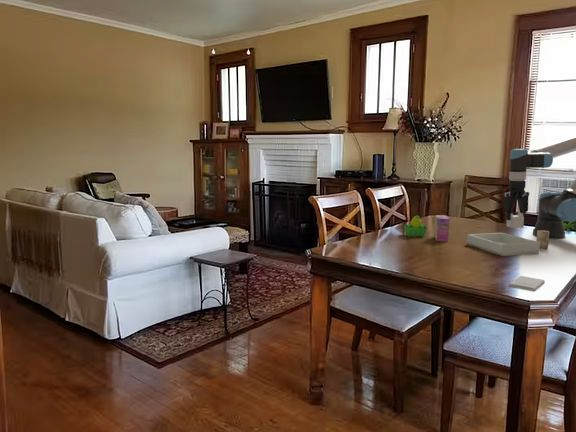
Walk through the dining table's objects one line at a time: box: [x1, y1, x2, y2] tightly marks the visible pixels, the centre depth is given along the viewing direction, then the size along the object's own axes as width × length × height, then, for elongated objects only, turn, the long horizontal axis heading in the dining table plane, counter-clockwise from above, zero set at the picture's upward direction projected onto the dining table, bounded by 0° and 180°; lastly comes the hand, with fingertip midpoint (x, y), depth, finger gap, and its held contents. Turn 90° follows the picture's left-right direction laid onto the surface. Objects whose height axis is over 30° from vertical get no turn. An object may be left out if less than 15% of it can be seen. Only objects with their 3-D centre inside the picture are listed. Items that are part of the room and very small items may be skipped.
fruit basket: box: [403, 215, 428, 238], centre depth 245 cm, size 11×9×11 cm
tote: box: [466, 232, 540, 257], centre depth 215 cm, size 20×24×5 cm
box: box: [434, 214, 450, 243], centre depth 236 cm, size 10×6×12 cm, turn 168°
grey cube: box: [505, 214, 525, 229], centre depth 233 cm, size 6×6×6 cm
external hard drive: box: [508, 275, 545, 292], centre depth 161 cm, size 2×8×12 cm
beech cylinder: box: [535, 230, 550, 250], centre depth 217 cm, size 5×5×8 cm
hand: (514, 226), depth 234 cm, fingers closed on grey cube, 5 cm apart
